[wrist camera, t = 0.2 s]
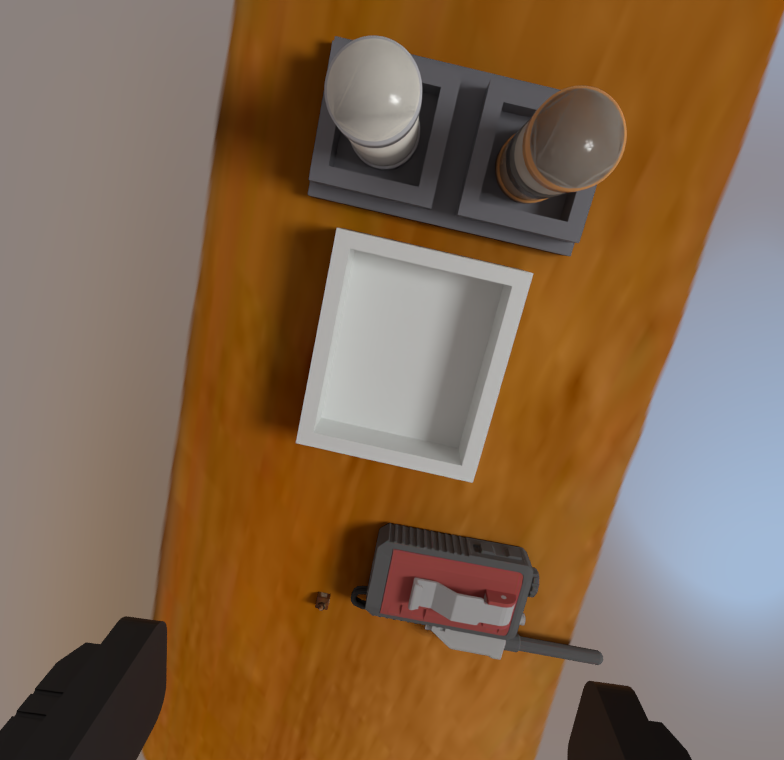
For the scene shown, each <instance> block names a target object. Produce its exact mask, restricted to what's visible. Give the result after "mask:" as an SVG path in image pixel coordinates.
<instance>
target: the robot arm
mask: <svg viewBox="0 0 784 760" xmlns="http://www.w3.org/2000/svg"><path fill="white" fill-rule="evenodd" d="M166 661H167V627H166V623H165V622H163V621H156V620H148V619H141V618H134V617H123V618H121V619H120V620H119V621H118V622H117V623H116V625H115V626H114V628H113V629H112V630H111V631H110V633H109V634H108V635H107V637H106V638H105V639H104V641H103V642H102V643H101V644H93V643H85V644H83V645H82V646H80V647H79V648H77V649H76V650H74V651H73V652H71V653H70V654H69V655H67V656H66V657H64V658H63V659H61V660H60V661H58V662H57V663H56V664H55V666H54V667H53V668H52V669H51V670H50V671H49V673H48V674H47V675H46V676H45V677H44V679H43V680H42V681H41V682H40V684H39V685H38V686H37V687H36V688H35V691H34V693H33V694H30V695H29V697H28V698H27V699H26V700H25V702H24V703H23V704H22V705H21V706H20V707H19V709H18V710H17V713H16V715H15V716H14V717H13V716H12V717H11V719H9V721H8V722H7V723H6V724H5V726H4V727H3V728H2V729H1V730H0V760H136V759H137V757H138V756H139V754H140V752H141V750H142V748H143V746H144V744H145V742H146V740H147V739H148V737H149V735H150V733H151V731H152V729H153V727H154V725H155V723H156V721H157V719H158V716H159V714H160V711H161V708H162V704H163V701H164V696H165V691H166ZM568 760H692V759H691V757H690V755H689V754H688V752H687V750H686V749H685V748H684V747H683V746H682V745H681V743H680V742H679V741H678V740H677V739H676V738H675V737H674V736H673V734H672V733H671V732H670V731H669V730H668V729H667V728H666V727H665V726H664V725H663V723H661V722H654V721H648V718H647V716H646V714H645V712H644V710H643V708H642V706H641V704H640V702H639V700H638V697H637V695H636V694H635V692H634V690H633V689H632V688H631V687H629V686H624V685H616V684H609V683H602V682H594V681H588V682H587V683H586V684H585V686H584V689H583V692H582V696H581V700H580V703H579V707H578V710H577V714H576V718H575V721H574V725H573V729H572V732H571V736H570V740H569V744H568Z"/></svg>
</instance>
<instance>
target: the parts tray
mask: <svg viewBox="0 0 784 760" xmlns="http://www.w3.org/2000/svg"><path fill="white" fill-rule="evenodd" d="M532 276H533V273H530V272H527V271H524V270H521V269H516V268H512V267H508V266H503V265H499V264H495V263H490V262H486V261H482V260H478V259H473V258H469V257H465V256H460V255H456V254H452V253H447V252H443V251H439V250H434V249H430V248H426V247H422V246H417V245H413V244H409V243H404V242H400V241H396V240H391V239H387V238H383V237H379V236H374V235H370V234H366V233H361V232H357V231H353V230H348V229H344V228H337V229H336V234H335V239H334V245H333V250H332V255H331V260H330V266H329V271H328V276H327V282H326V287H325V292H324V297H323V303H322V308H321V313H320V318H319V324H318V329H317V334H316V340H315V345H314V350H313V355H312V361H311V366H310V371H309V376H308V382H307V387H306V392H305V398H304V403H303V408H302V413H301V419H300V424H299V429H298V435H297V440H296V443H298V444H302V445H307V446H311V447H316V448H320V449H325V450H329V451H334V452H338V453H343V454H347V455H351V456H356V457H360V458H365V459H369V460H374V461H378V462H383V463H387V464H392V465H396V466H401V467H405V468H409V469H414V470H418V471H423V472H427V473H432V474H436V475H441V476H445V477H450V478H454V479H458V480H463V481H467V482H472V483H473V480H474V477H475V473H476V470H477V467H478V463H479V460H480V456H481V453H482V449H483V446H484V442H485V439H486V435H487V432H488V429H489V425H490V422H491V418H492V415H493V411H494V408H495V404H496V401H497V397H498V394H499V390H500V387H501V384H502V380H503V377H504V373H505V370H506V366H507V363H508V359H509V356H510V352H511V349H512V346H513V342H514V339H515V335H516V332H517V328H518V325H519V321H520V318H521V314H522V311H523V308H524V304H525V301H526V297H527V294H528V290H529V287H530V283H531V280H532Z"/></svg>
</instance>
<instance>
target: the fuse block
mask: <svg viewBox="0 0 784 760" xmlns="http://www.w3.org/2000/svg"><path fill="white" fill-rule="evenodd" d="M351 41H353V40H349V39H345V38H341V37H336V36H335V40H334V41H332V47H331V52H330V58H329V64H328V68H329V66H330V64H331V62H332V60H333V58H334V57H335V56H336V54H337V53H338V52H339V51H340V50H341V49H342V48H343V47H344V46H345V45H347V44H348V43H350V42H351ZM410 55H411V56H412V57H413V59H414V61H415V62H416V64H417V67H418V69H419V72H420V75H421V80H422V103H421V109H420V113H419V122H420V139H419V144H418V147H417V149H416V151H415V153H414V155H413V156H412V158H411V159H410V160H409V161H408V162H407V163H405V164H404V165H403V166H401V167H399V168H397V169H393V170H387V171H385V170H377V169H374V168H372V167H370V166H368V165H367V164H365V163H364V162H363V161H362V160H361V159H360V158H359V157H358V155H357V154H356V152H355V151H354V149H353V147H352V145H351V142H350V141H349V139H348V138H347V137H346V136H344V134H343V133H342V132H341V131H340V130H339V128H338V127H337V126H336V124H335V123H334V121H333V120H332V118H331V116H330V114H329V111H328V109H327V105H326V101H325V94H324V93H323V99H322V105H321V110H320V116H319V122H318V128H317V134H316V139H315V145H314V151H313V157H312V163H311V168H310V174H309V180H310V184H309V190H308V195H309V196H312V197H316V198H320V199H325V200H329V201H333V202H338V203H342V204H346V205H350V206H355V207H359V208H363V209H368V210H372V211H376V212H380V213H385V214H389V215H393V216H398V217H402V218H406V219H410V220H415V221H419V222H423V223H428V224H432V225H436V226H440V227H445V228H449V229H453V230H458V231H462V232H466V233H471V234H475V235H479V236H483V237H488V238H492V239H496V240H501V241H505V242H509V243H513V244H518V245H522V246H526V247H531V248H535V249H539V250H543V251H548V252H552V253H556V254H561V255H565V256H571V253H572V250H573V246H574V243H579V241H580V238H581V235H582V232H583V228H584V225H585V222H586V219H587V215H588V212H589V209H590V206H591V202H592V199H593V196H594V193H595V189H596V186H597V184H596V185H595V186H593V187H590V188H587V189H584V190H580V191H576V192H571V193H565V194H562V195H558V196H555V197H551V198H548V199H546V200H543V201H540V202H536V203H531V204H523V203H518V202H515V201H513V200H511V199H510V198H508V197H507V196H506V195H505V194H504V193H503V192H502V191H501V189H500V188H499V186H498V184H497V181H496V177H495V162H496V158H497V155H498V153H499V151H500V149H501V147H502V146H503V145H504V143H505V142H506V141H507V140H508V139H509V138H510V137H511V136H512V135H514V134H515V133H516V132H517V131H518V130H519V129H520V128H521V127H522V126H523V125H524V124H525V123H526V122H527V121H528V120H529V119H530V118H531V117H532V115H533V114H534V113H535V112H536V110H537V109H538V108H539V107H540V106H541V105H542V104H543V103H544V102H545V101H546V100H547V99H548V98H550V97H551V96H552V95H553V94H555V93H557V92H559V91H561V90H558V89H554V88H550V87H546V86H541V85H537V84H533V83H529V82H525V81H521V80H516V79H512V78H508V77H504V76H500V75H495V74H491V73H487V72H483V71H479V70H475V69H470V68H466V67H462V66H458V65H454V64H449V63H445V62H441V61H437V60H433V59H428V58H424V57H420V56H416V55H412V54H410ZM327 71H328V70H327Z"/></svg>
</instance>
